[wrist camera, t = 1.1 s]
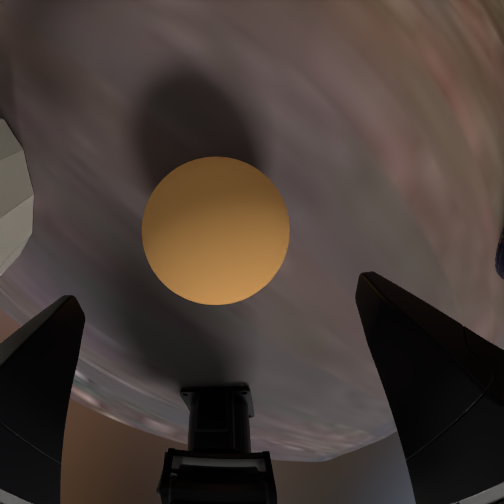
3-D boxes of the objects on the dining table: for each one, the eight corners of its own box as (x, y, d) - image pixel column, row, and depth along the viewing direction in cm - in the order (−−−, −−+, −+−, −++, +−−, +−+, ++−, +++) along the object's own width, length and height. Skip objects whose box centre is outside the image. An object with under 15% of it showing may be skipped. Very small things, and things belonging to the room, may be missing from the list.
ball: (279, 249, 15) (301, 329, 10) (174, 259, 15) (149, 339, 10) (275, 140, 12) (306, 171, 7) (152, 155, 12) (97, 196, 7)
